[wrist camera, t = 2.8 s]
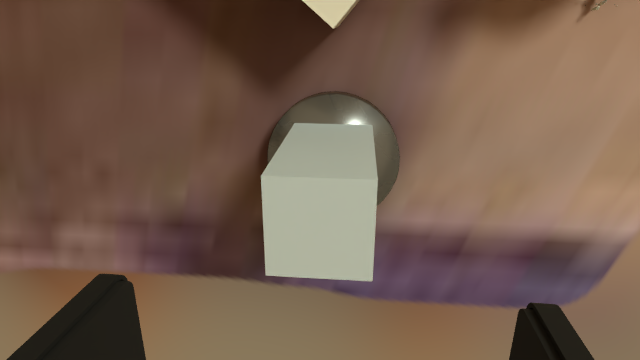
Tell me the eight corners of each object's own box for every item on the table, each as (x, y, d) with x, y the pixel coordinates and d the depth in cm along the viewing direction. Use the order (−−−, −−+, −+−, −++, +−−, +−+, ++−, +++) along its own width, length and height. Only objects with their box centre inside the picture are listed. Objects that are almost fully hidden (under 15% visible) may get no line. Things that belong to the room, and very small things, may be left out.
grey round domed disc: (339, 235, 25) (339, 243, 25) (246, 159, 24) (241, 165, 23) (425, 150, 23) (427, 156, 22) (326, 63, 22) (325, 65, 21)
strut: (369, 197, 23) (372, 281, 16) (295, 194, 24) (265, 275, 16) (372, 124, 22) (377, 180, 15) (294, 122, 22) (260, 175, 15)
